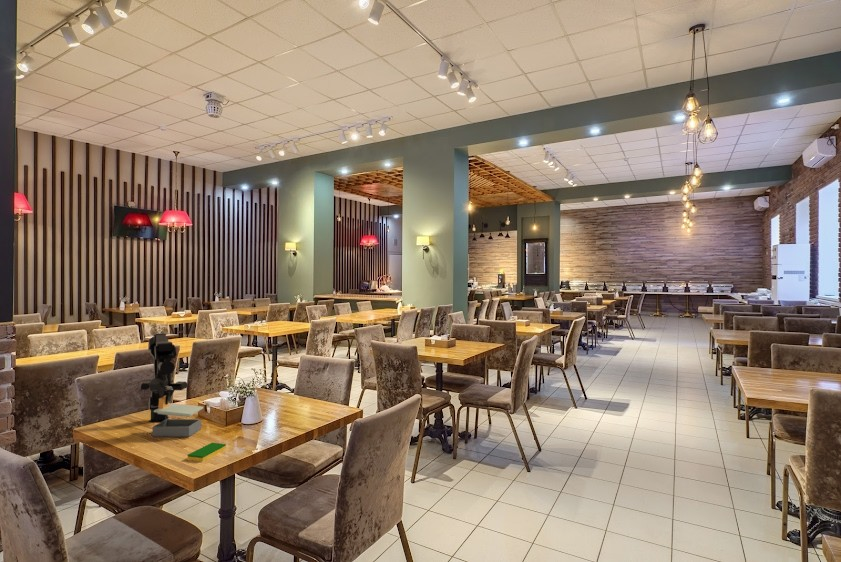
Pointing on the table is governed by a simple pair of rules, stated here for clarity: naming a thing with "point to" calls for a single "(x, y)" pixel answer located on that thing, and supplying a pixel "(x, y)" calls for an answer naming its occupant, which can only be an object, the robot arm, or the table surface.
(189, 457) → the dish sponge
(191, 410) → the lid
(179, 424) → the tub
